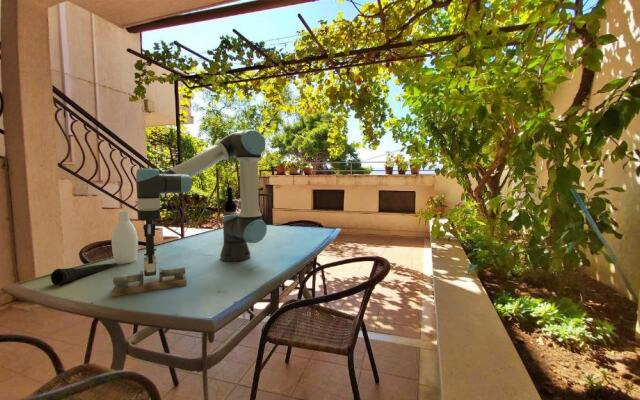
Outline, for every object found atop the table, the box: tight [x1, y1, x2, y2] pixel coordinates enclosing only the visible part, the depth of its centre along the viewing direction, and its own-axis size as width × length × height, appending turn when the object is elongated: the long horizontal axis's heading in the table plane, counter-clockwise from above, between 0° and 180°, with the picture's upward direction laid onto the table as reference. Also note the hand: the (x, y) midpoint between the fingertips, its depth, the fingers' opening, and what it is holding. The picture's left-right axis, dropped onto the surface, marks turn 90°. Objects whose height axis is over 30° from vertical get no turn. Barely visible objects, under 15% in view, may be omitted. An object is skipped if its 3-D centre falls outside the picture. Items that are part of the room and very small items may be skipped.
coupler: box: [143, 255, 157, 277], centre depth 115 cm, size 4×4×7 cm
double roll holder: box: [111, 266, 188, 297], centre depth 115 cm, size 24×9×6 cm, turn 118°
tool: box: [50, 263, 117, 287], centre depth 129 cm, size 28×6×7 cm, turn 167°
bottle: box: [110, 209, 139, 265], centre depth 148 cm, size 11×11×25 cm
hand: (151, 269), depth 115 cm, fingers closed on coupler, 4 cm apart
